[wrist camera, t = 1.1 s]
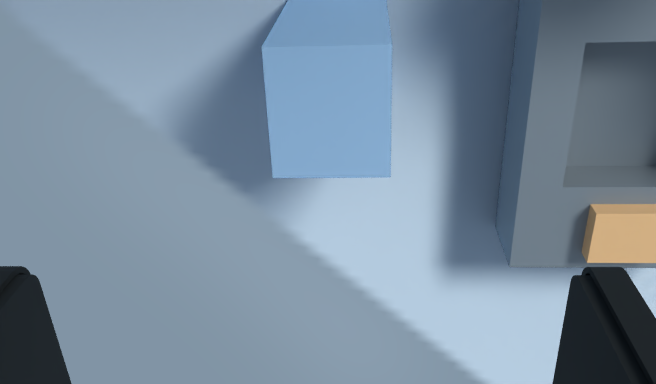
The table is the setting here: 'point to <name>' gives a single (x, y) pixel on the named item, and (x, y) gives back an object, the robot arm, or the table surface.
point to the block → (329, 89)
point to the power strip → (581, 136)
